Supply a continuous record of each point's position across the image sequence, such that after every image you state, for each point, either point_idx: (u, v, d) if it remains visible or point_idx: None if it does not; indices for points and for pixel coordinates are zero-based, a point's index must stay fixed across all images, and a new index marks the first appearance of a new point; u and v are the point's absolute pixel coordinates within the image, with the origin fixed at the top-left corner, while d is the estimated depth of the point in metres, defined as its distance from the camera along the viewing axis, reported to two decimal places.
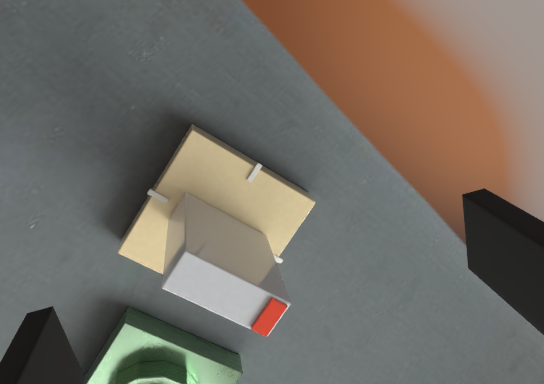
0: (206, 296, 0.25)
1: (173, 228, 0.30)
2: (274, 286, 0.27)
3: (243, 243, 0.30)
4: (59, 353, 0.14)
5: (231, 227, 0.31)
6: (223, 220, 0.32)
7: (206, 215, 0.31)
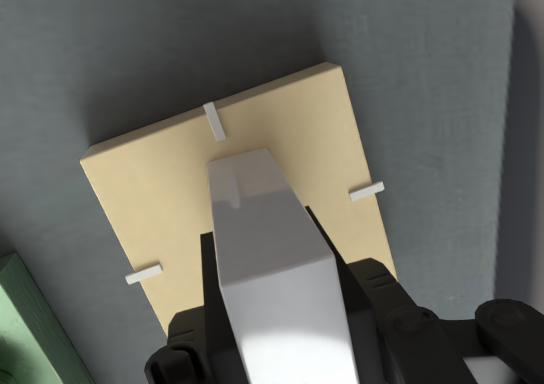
0: (276, 366, 0.10)
1: (238, 183, 0.15)
2: None
3: None
4: None
5: None
6: None
7: None
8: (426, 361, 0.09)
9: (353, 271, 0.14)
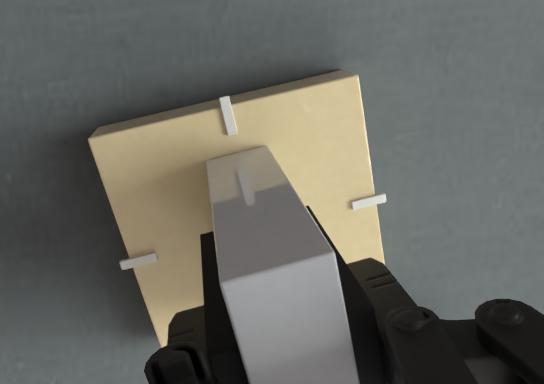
0: (275, 364, 0.10)
1: (238, 181, 0.15)
2: None
3: None
4: None
5: None
6: None
7: None
8: (426, 361, 0.09)
9: (353, 271, 0.14)
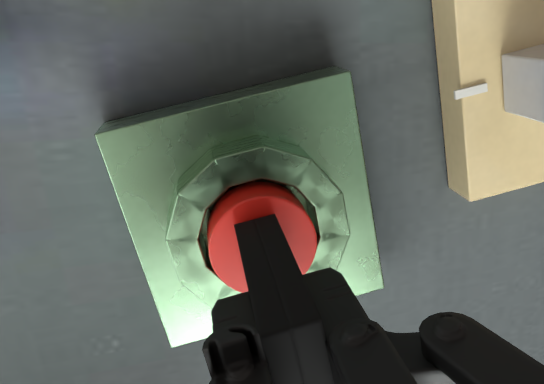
0: None
1: None
2: None
3: None
4: None
5: None
6: None
7: None
8: (373, 375, 0.09)
9: (311, 281, 0.14)
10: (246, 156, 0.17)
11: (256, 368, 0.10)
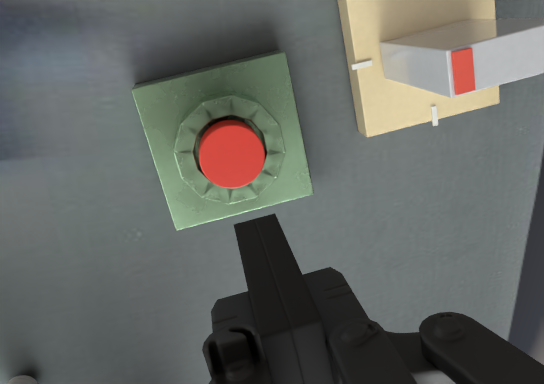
0: (527, 42, 0.24)
1: None
2: None
3: None
4: None
5: None
6: None
7: None
8: (373, 375, 0.09)
9: (311, 281, 0.14)
10: (221, 101, 0.30)
11: (256, 368, 0.10)
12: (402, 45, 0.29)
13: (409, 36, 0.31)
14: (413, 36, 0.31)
